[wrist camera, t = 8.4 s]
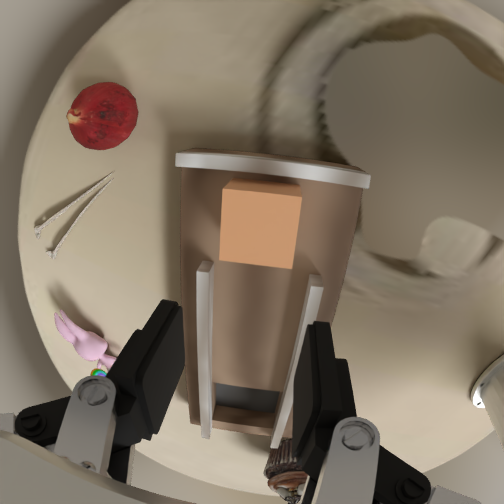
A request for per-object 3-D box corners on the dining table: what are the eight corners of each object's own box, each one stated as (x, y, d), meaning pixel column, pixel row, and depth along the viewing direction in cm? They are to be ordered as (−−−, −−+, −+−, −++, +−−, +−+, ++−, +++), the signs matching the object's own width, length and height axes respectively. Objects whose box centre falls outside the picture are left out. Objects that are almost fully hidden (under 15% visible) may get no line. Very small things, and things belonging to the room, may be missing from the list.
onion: (157, 87, 23) (110, 77, 16) (147, 148, 25) (98, 161, 18) (104, 85, 23) (50, 80, 16) (96, 142, 25) (41, 153, 18)
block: (299, 185, 22) (302, 197, 19) (291, 246, 24) (291, 268, 21) (233, 177, 23) (222, 188, 19) (229, 239, 25) (219, 260, 21)
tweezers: (56, 258, 32) (47, 264, 30) (37, 228, 31) (27, 232, 29) (154, 174, 28) (146, 176, 26) (130, 136, 27) (121, 136, 25)
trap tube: (357, 166, 24) (372, 176, 19) (293, 421, 38) (292, 449, 33) (193, 148, 25) (173, 153, 20) (195, 407, 39) (187, 434, 34)
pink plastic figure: (153, 369, 38) (75, 294, 32) (143, 404, 33) (53, 328, 27) (125, 377, 40) (52, 309, 34) (114, 409, 35) (32, 340, 28)
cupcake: (301, 429, 39) (299, 487, 30) (336, 450, 41) (338, 501, 32) (253, 447, 42) (246, 498, 33) (290, 466, 44) (288, 512, 35)
